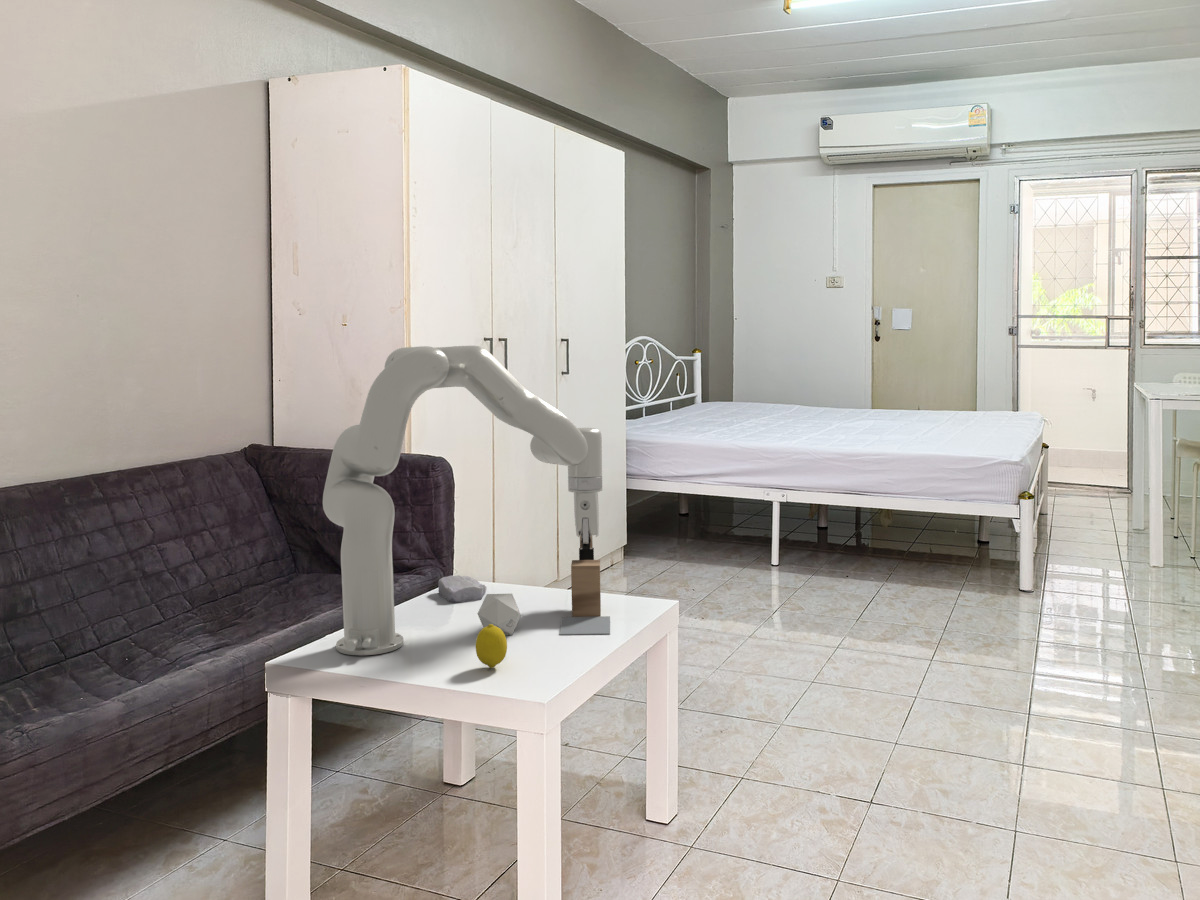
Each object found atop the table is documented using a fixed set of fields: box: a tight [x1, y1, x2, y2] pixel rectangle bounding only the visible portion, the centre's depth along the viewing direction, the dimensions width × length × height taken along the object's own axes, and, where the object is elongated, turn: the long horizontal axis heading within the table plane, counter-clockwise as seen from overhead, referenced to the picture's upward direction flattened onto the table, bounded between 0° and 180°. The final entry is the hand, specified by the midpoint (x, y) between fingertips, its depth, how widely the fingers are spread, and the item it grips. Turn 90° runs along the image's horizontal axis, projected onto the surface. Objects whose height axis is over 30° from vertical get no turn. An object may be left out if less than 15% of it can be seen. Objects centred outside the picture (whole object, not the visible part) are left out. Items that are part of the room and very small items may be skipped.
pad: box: [559, 615, 611, 636], centre depth 198 cm, size 13×10×1 cm
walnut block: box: [570, 559, 602, 617], centre depth 207 cm, size 6×6×11 cm
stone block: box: [437, 574, 487, 604], centre depth 225 cm, size 12×5×10 cm
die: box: [477, 593, 522, 636], centre depth 194 cm, size 8×9×10 cm
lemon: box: [475, 624, 508, 669], centre depth 172 cm, size 6×6×8 cm
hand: (586, 566), depth 215 cm, fingers closed
